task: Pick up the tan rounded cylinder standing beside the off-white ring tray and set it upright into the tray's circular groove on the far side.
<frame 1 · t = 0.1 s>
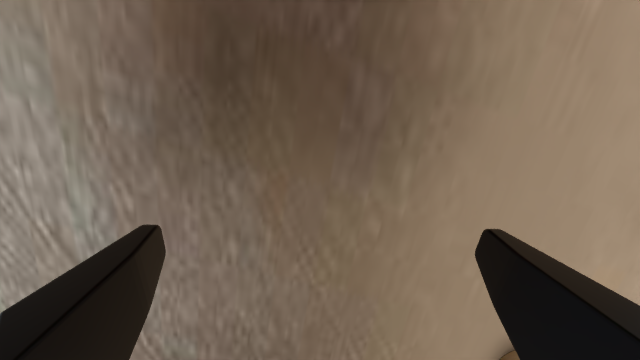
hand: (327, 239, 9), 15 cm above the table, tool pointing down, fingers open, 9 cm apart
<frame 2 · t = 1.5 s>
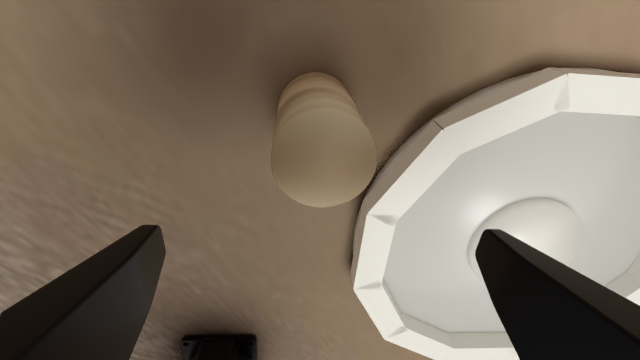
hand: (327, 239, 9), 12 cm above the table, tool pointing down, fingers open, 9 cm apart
tan rounded cylinder: (315, 109, 20), on the table
ring tray: (512, 234, 26), on the table
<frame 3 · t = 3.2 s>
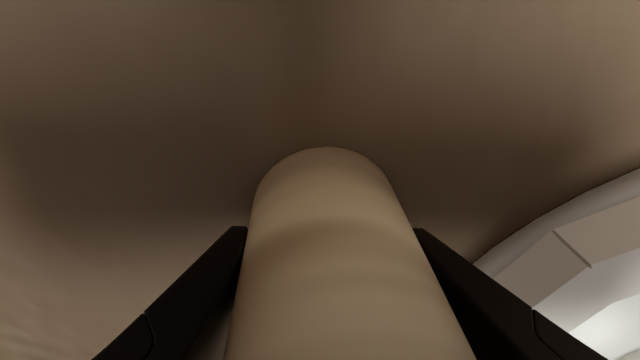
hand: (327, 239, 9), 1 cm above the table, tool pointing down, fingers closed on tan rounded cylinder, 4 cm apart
tan rounded cylinder: (324, 211, 10), on the table, touching gripper
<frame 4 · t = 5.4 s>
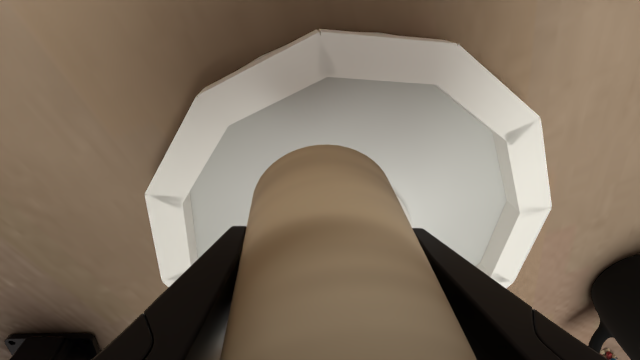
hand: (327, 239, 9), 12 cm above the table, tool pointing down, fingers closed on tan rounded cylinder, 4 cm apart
tan rounded cylinder: (323, 209, 10), point 11 cm above the table, touching gripper
mug: (609, 289, 30), on the table
ring tray: (348, 221, 24), on the table
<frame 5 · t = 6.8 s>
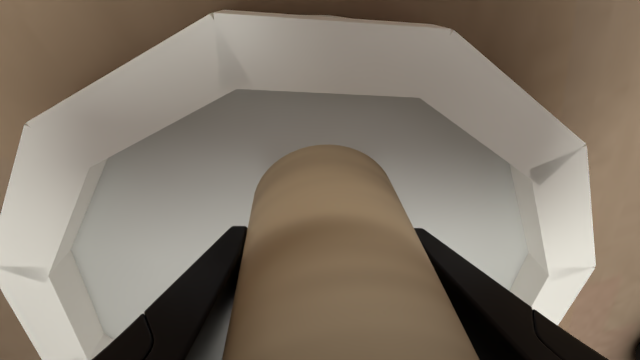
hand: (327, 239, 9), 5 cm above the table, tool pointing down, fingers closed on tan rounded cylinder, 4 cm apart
tan rounded cylinder: (324, 209, 10), point 4 cm above the table, touching gripper
ring tray: (309, 278, 17), on the table
when the fingers open (3 cm above the table, at t = 8.0 s): tan rounded cylinder drops 1 cm, resting on ring tray.
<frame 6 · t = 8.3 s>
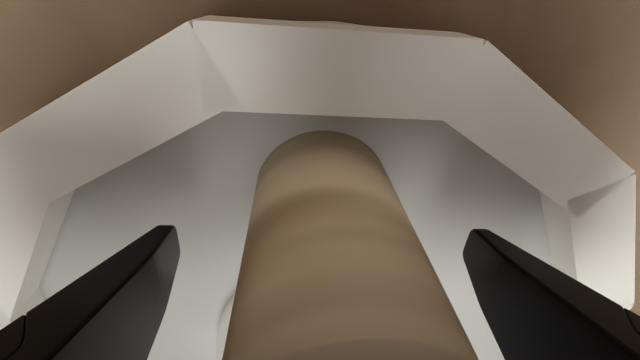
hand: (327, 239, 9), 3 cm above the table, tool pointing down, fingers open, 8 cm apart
tan rounded cylinder: (321, 191, 11), point 1 cm above the table, touching ring tray
ring tray: (310, 311, 16), on the table
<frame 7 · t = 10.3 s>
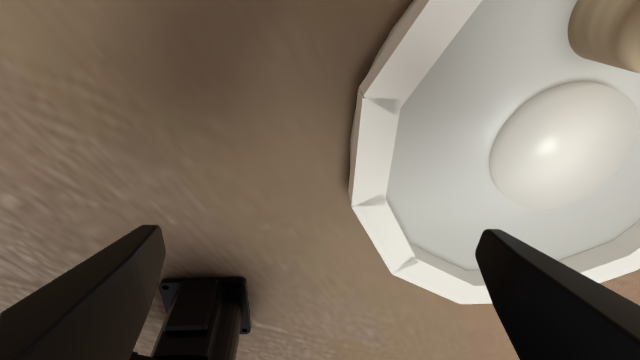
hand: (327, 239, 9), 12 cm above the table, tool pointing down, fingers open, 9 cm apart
tan rounded cylinder: (613, 13, 17), point 1 cm above the table, touching ring tray
ring tray: (544, 140, 21), on the table
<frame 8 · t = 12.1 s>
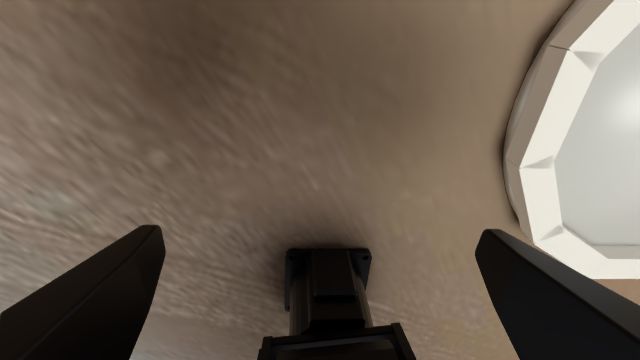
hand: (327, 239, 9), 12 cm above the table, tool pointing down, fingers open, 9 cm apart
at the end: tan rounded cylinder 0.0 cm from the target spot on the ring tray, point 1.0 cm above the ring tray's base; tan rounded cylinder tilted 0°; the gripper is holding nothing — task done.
